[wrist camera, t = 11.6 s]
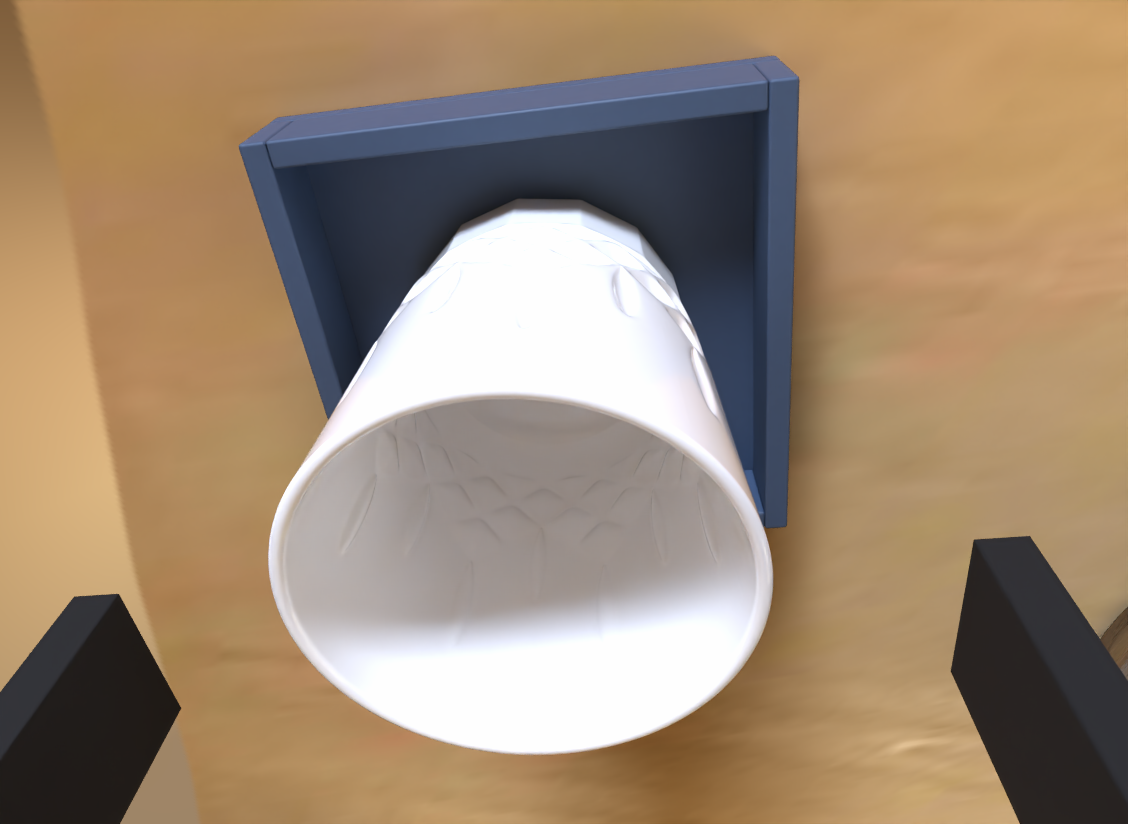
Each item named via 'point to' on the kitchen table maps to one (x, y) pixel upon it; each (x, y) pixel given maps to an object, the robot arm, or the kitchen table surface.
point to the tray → (557, 171)
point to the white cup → (528, 501)
